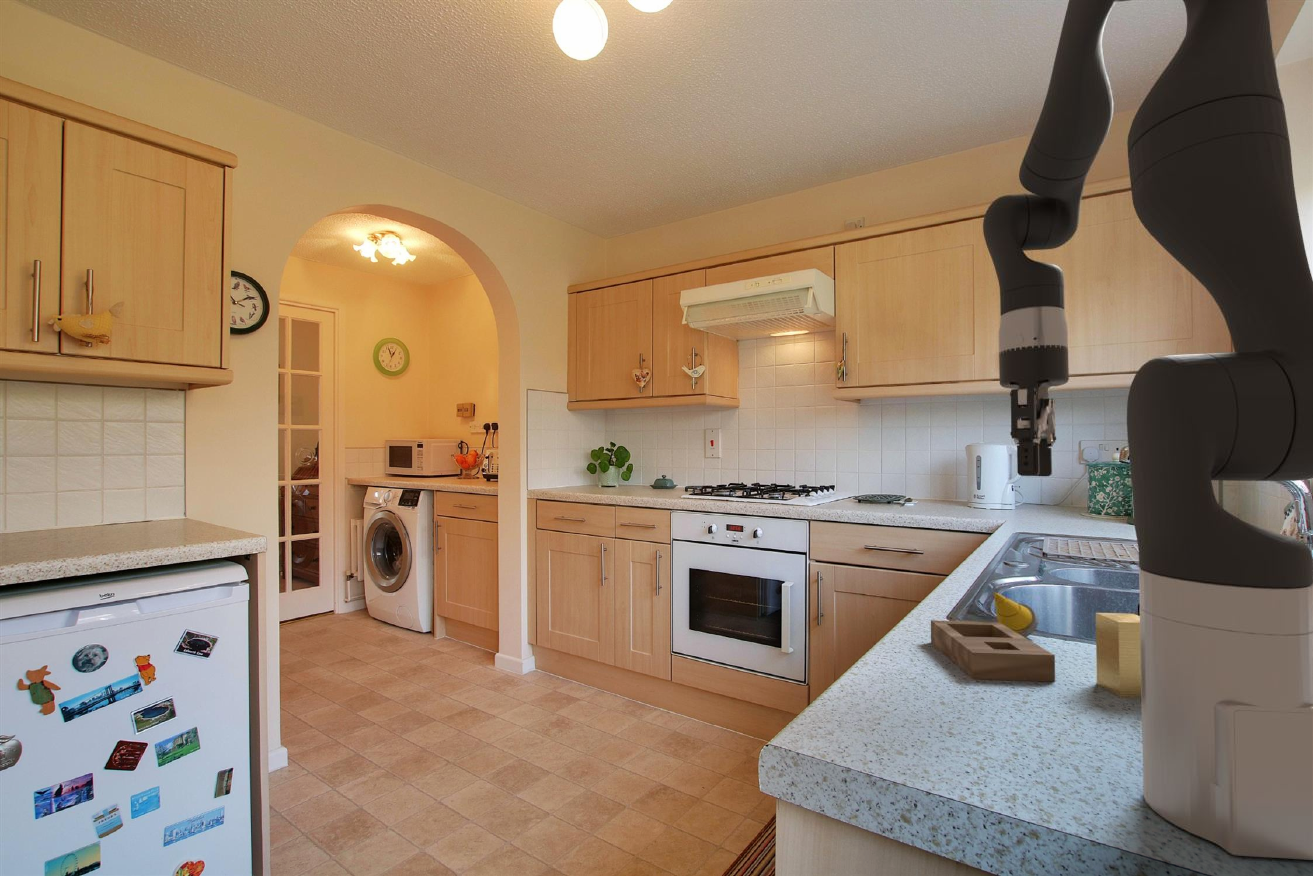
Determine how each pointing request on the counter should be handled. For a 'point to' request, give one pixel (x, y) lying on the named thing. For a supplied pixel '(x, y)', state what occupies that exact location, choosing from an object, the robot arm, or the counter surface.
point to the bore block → (992, 651)
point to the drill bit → (1015, 615)
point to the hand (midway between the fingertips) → (1035, 476)
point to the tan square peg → (1119, 653)
